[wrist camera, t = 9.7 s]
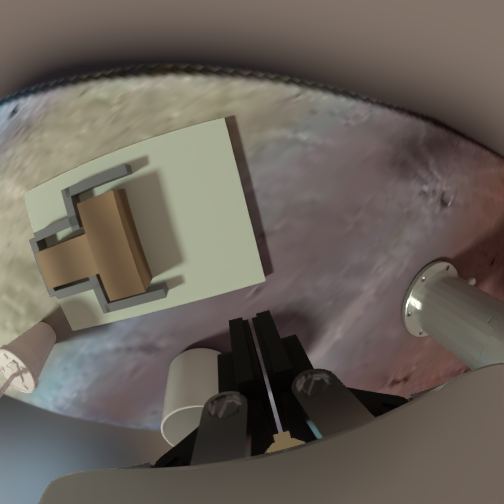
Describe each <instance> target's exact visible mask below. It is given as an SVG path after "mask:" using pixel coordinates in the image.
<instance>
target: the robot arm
mask: <svg viewBox="0 0 504 504" xmlns="http://www.w3.org/2000/svg"><path fill="white" fill-rule="evenodd" d="M475 283H476V280H475V278H474V277H471V278H469V279H468V280H464V279H462V278H460V277H459V276H458V273H457V270H456V269H455V267H454V266H453V265H451V264H450V263H448V262H445V261H435V262H433V263H430V264H429V265H427V266H426V267H424V268H423V269H422V270H421V271H420V272H419V273H418V275H417V276H416V277H415V278H414V280H413V282H412V283H411V285H410V287H409V289H408V291H407V293H406V296H405V299H404V303H403V308H402V319H403V323H404V326H405V328H406V329H407V331H409V332H410V333H411V334H412V335H414V336H417V337H423V336H427V335H430V336H431V337H432V338H434V339H435V340H436V341H438V342H439V343H440V344H441V345H443V346H444V347H445V348H446V349H448V350H449V351H450V352H451V353H453V354H454V355H455V356H456V357H458V358H459V359H460V360H461V361H463V362H464V363H465V364H466V365H467V366H469V367H470V368H471V369H472V371H469V372H466V373H464V374H462V375H460V376H458V377H456V378H454V379H451V380H450V381H448V382H446V383H444V384H441V385H438V386H435V387H432V388H429V389H426V390H423V391H420V392H417V393H414V394H411V396H410V398H408V399H405V398H404V397H400V396H396V395H389V394H382V393H376V392H370V391H364V390H358V389H353V388H348V387H346V386H345V385H344V384H343V383H342V382H341V381H340V380H339V379H338V378H337V376H336V375H335V374H333V373H332V372H331V371H329V370H326V369H314V368H313V366H312V364H311V362H310V361H309V359H308V357H307V355H306V353H305V351H304V349H303V347H302V345H301V343H300V341H299V339H298V337H297V336H296V335H292V336H288V337H285V338H281V339H280V336H279V334H278V331H277V329H276V326H275V324H274V322H273V319H272V317H271V314H270V312H269V310H268V311H264V312H261V313H257V314H256V316H257V317H255V318H252V321H253V325H254V328H255V332H256V336H257V339H258V343H259V347H260V351H261V354H262V358H263V362H264V365H265V369H266V373H267V376H268V380H269V384H270V387H271V391H272V394H273V398H274V401H275V405H276V409H277V412H278V416H279V419H280V423H281V426H282V430H283V432H286V431H289V433H290V436H291V438H296V439H298V440H301V441H303V444H301V445H298V446H294V447H290V448H287V449H283V450H279V451H275V452H271V453H267V451H266V450H267V449H268V448H269V447H270V445H271V444H272V443H274V442H275V441H274V437H273V435H274V434H278V430H277V426H276V422H275V418H274V415H273V411H272V407H271V403H270V399H269V396H268V392H267V388H266V384H265V380H264V376H263V372H262V369H261V365H260V362H259V358H258V355H257V351H256V347H255V344H254V340H253V337H252V333H251V329H250V326H249V322H248V319H247V320H243V319H242V317H241V318H237V319H233V320H229V327H230V337H231V346H232V351H231V352H226V353H222V354H218V355H217V364H218V393H219V394H216V395H214V396H212V397H211V398H210V399H208V401H207V402H206V403H205V405H204V407H203V410H202V414H201V419H200V423H199V426H198V427H197V428H196V429H195V430H193V431H192V432H191V433H190V434H189V435H188V436H186V437H185V438H184V439H183V440H182V441H180V442H179V443H178V444H177V445H175V446H174V447H173V448H172V449H171V450H169V451H168V452H167V453H166V454H164V455H163V456H162V457H161V458H160V459H159V460H158V461H157V462H156V464H154V465H151V464H150V463H144V464H140V465H135V466H129V467H124V468H118V469H93V470H85V471H78V472H74V473H69V474H66V475H63V476H61V477H58V478H56V479H55V480H54V481H52V482H51V483H50V484H49V485H48V487H47V488H46V490H45V492H44V493H43V495H42V497H41V499H40V502H39V504H504V301H502V300H500V299H498V298H496V297H494V296H492V295H490V294H488V293H486V292H484V291H482V290H480V289H478V288H477V287H474V286H473V285H474V284H475Z"/></svg>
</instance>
